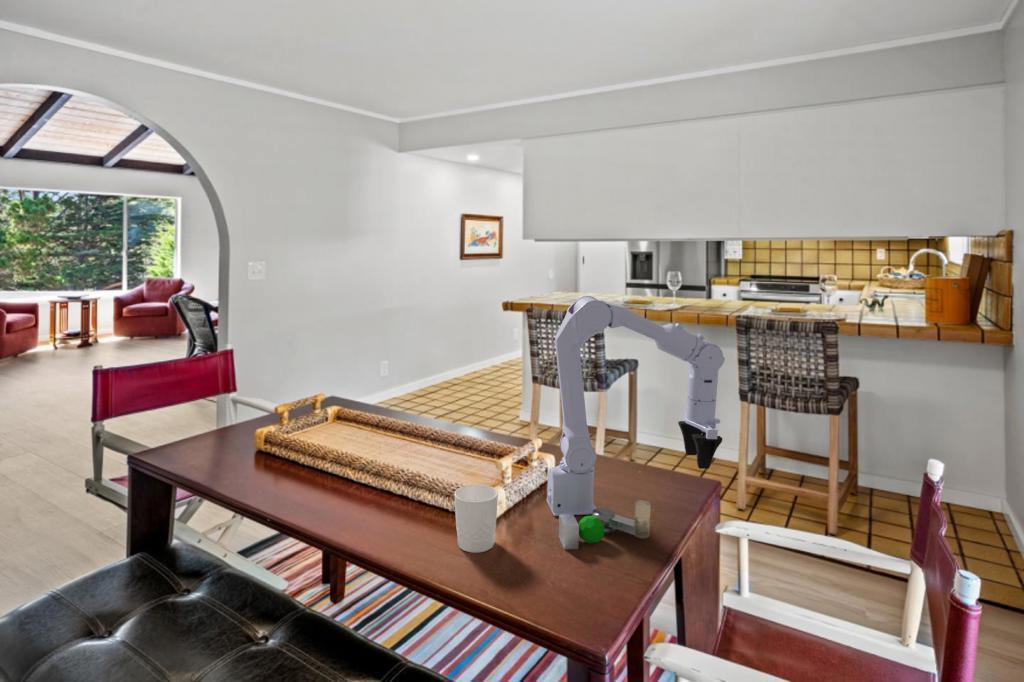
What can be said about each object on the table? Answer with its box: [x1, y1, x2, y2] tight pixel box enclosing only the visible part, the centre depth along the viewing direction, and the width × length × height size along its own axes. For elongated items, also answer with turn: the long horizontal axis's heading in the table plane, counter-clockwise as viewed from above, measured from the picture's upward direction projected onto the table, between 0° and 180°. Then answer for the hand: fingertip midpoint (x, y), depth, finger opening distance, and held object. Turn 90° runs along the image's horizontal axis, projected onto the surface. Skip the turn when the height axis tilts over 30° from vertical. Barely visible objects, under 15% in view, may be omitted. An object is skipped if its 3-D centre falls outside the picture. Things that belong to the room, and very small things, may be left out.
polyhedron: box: [578, 515, 605, 544], centre depth 114 cm, size 5×5×5 cm
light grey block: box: [557, 513, 580, 550], centre depth 113 cm, size 3×5×4 cm, turn 8°
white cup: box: [453, 483, 499, 553], centre depth 112 cm, size 8×8×10 cm
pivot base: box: [604, 527, 616, 535], centre depth 119 cm, size 5×5×1 cm
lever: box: [591, 499, 652, 539], centre depth 116 cm, size 12×4×6 cm, turn 53°
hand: (697, 461), depth 128 cm, fingers open, 7 cm apart
